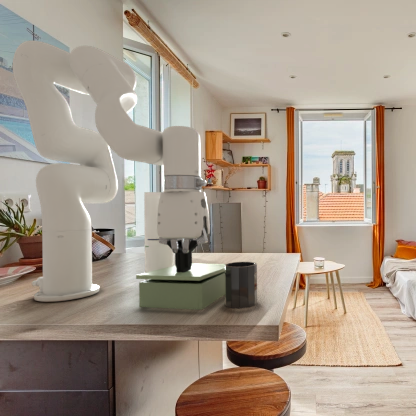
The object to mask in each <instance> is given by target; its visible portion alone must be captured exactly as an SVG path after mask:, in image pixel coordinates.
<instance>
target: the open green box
mask: <svg viewBox="0 0 416 416" xmlns="http://www.w3.org/2000/svg"><path fill="white" fill-rule="evenodd" d="M138 293H139V295H138V297H139V298H138V302H139V303H138V304H139V305H138V306H139V308H151V309H173V310H175V309H176V310H198V311H199V310H202V311H203V310H205V308H207V307H209V306H211V305H212V304H214V303H215V302H216V301H218V300H220V299H221V298H222V297H225V271H224V272H221V273H219V274H216V275H213V276H211V277H208V278H205V279H203V280H200V281H195V280H159V279H148V280H145V279H144V280H142V281H139V282H138Z"/></svg>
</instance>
